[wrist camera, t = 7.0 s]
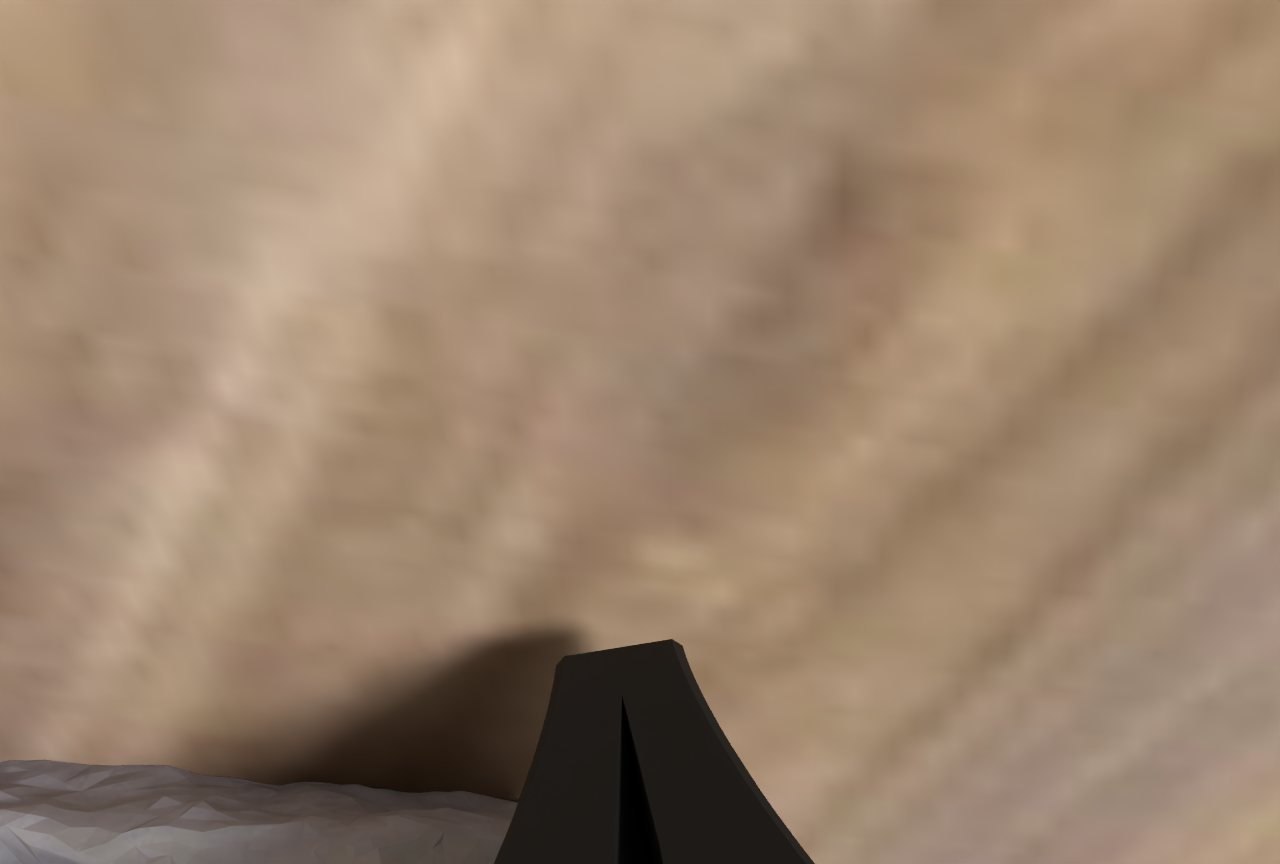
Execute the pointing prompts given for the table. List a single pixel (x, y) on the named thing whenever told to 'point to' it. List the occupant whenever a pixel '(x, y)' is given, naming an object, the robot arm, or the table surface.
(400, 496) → the table surface
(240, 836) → the stone block
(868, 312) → the table surface
